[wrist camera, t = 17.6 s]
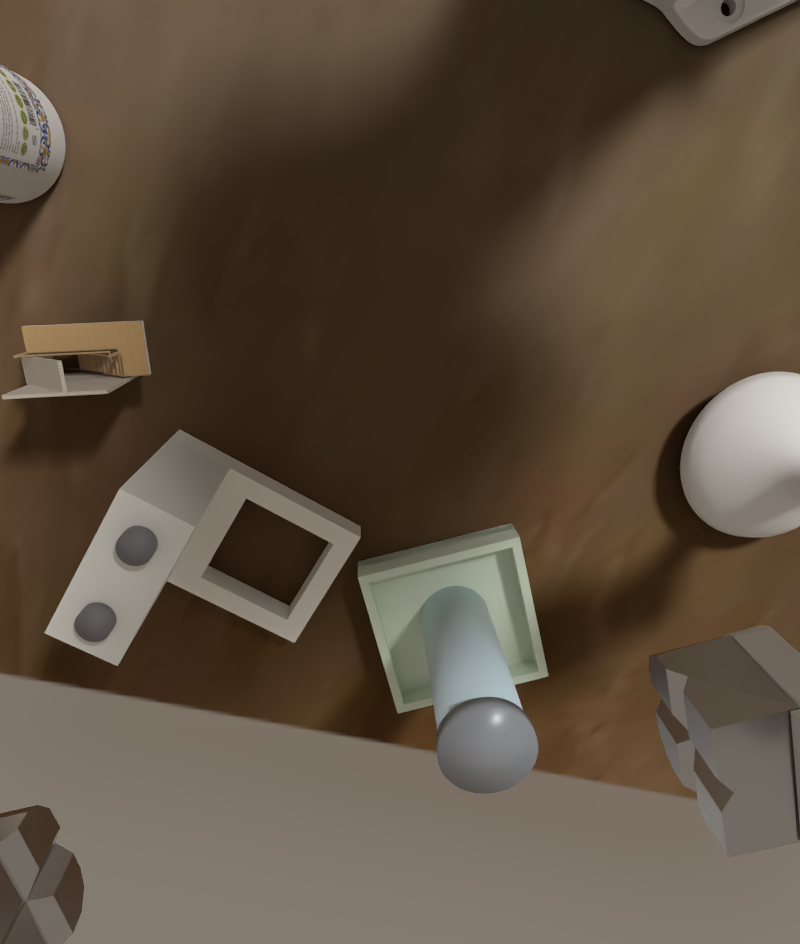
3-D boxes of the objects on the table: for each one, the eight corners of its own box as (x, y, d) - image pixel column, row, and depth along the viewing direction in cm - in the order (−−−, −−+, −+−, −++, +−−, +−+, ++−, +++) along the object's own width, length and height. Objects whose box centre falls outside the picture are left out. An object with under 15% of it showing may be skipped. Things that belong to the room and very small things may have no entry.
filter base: (360, 526, 48) (361, 619, 36) (296, 628, 50) (277, 749, 38) (179, 429, 45) (114, 493, 33) (119, 541, 47) (37, 641, 35)
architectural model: (45, 320, 43) (-16, 334, 36) (158, 315, 44) (120, 327, 36) (55, 375, 44) (-2, 399, 37) (166, 370, 45) (130, 392, 37)
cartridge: (483, 575, 48) (528, 698, 35) (497, 639, 50) (546, 780, 37) (410, 592, 49) (427, 722, 35) (426, 656, 50) (449, 803, 37)
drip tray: (511, 523, 49) (519, 536, 46) (539, 657, 52) (548, 676, 49) (357, 561, 49) (357, 577, 46) (395, 692, 52) (397, 713, 50)
